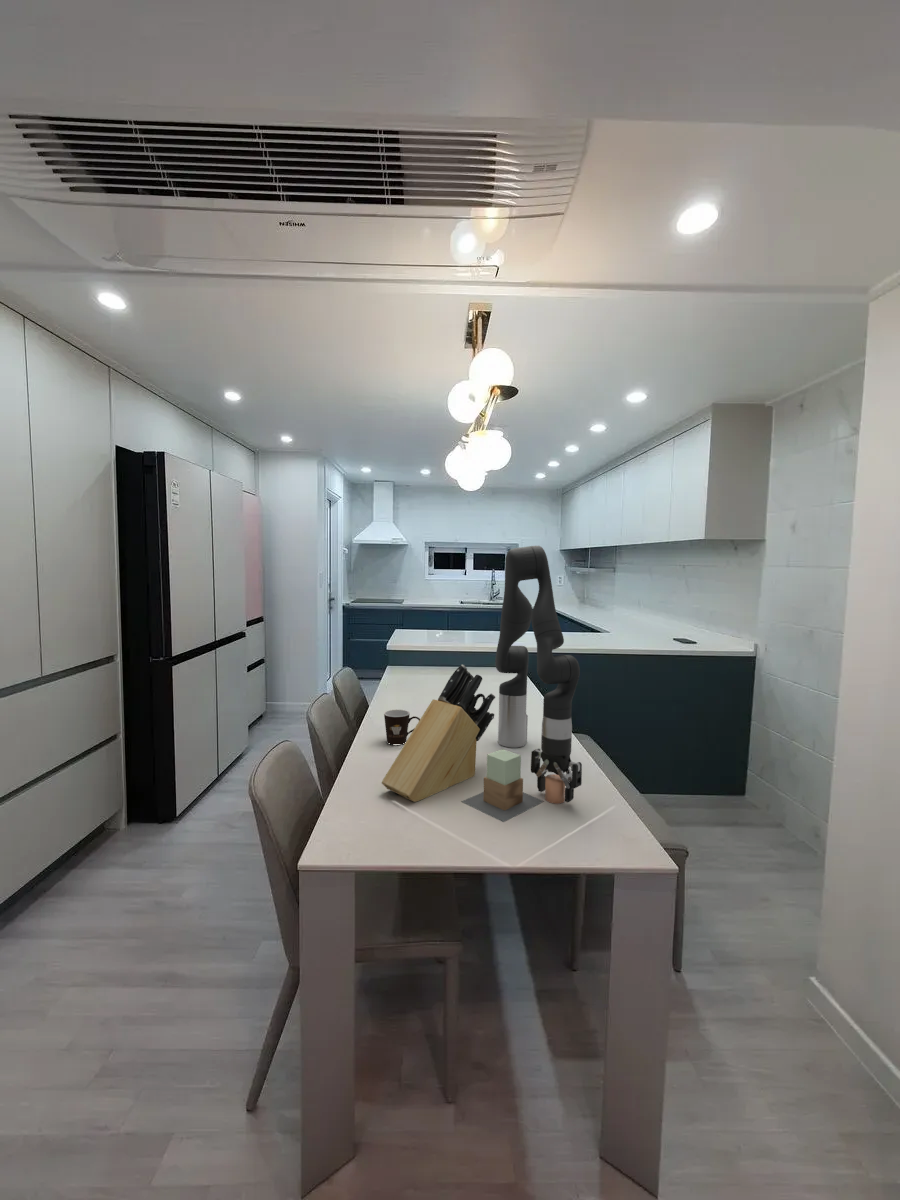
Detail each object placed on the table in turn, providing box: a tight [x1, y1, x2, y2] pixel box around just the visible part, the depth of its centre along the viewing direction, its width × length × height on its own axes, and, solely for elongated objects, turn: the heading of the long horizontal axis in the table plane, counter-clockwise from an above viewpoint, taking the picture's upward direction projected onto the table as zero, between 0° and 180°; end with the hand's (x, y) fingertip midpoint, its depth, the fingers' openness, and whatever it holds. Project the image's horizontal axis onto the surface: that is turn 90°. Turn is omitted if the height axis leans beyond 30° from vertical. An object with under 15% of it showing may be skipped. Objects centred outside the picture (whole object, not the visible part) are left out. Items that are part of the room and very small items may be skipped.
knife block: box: [381, 664, 496, 803], centre depth 143 cm, size 11×35×31 cm, turn 137°
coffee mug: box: [383, 709, 421, 745], centre depth 174 cm, size 12×9×10 cm
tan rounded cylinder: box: [544, 773, 566, 805], centre depth 133 cm, size 5×5×6 cm
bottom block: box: [483, 776, 524, 811], centre depth 131 cm, size 7×7×6 cm
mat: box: [460, 791, 545, 823], centre depth 131 cm, size 16×14×1 cm
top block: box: [486, 748, 522, 785], centre depth 130 cm, size 6×6×6 cm
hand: (554, 795), depth 133 cm, fingers open, 7 cm apart
